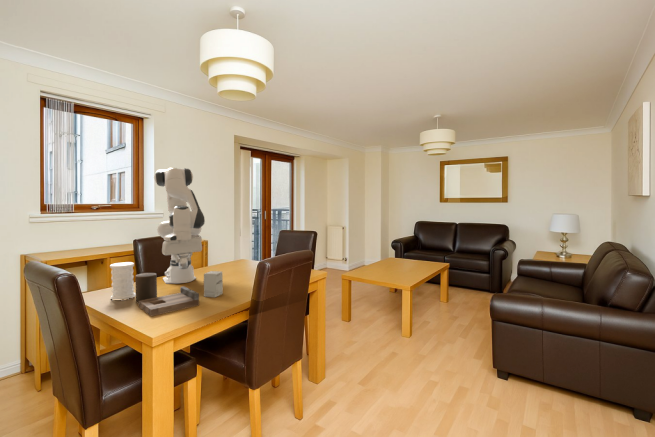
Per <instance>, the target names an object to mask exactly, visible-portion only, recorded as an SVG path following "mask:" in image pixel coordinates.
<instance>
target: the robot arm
mask: <svg viewBox="0 0 655 437" xmlns="http://www.w3.org/2000/svg"><path fill="white" fill-rule="evenodd" d="M153 176H154V177H153V178H154V181H155V183H156V185H157V186H159V187H162V188H163V187H165V191H166V200H167V201H166V202H167V209H168V213H169V215H168V220H164V221H161V222H160V223H159V224H158V226H157V229H156V230H157V233H158V236H159V237H161V238H163V240H164V241H163V242H162V248H161V253H162V255H164V256H171V257H170V258H171V259H170V263H169V267H168V268H167V270H166V271H164V277H162V280H163V281H164V283H165V284H184V283H191V282H192V281H194V280H196V279H197V277H196V276H195V273H194V272H195V271H194V270H195V269H194V266H193V265H192V259H191V258H192V256H193V253H199V252H200V253H201V252H202V250H203V245H202V239H203V238H202V236H201V235H200V234H201V232H202V227H203V226H204V225H205V222H206V221H205V215H204V213H203V211H202V209H201V207H200V204H199V202H198V200H197V197H196V195H195V193H194V191H193V190H191V189H190V188H189V186H190V185H191V184H192V183H193V179H194V175H193V172H192V170H191V169H189V168H185V167H184V168H180V167H179V168H178V167H169V168H167V169H157V170H156V171H155V172H154V175H153ZM187 204H189V206H188V205H187ZM183 253H189V255H188V268H187V269H179V262H180V261H179V260H180V259H179V256H177V254H183Z"/></svg>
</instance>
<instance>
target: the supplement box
mask: <svg viewBox="0 0 655 437" xmlns="http://www.w3.org/2000/svg"><path fill="white" fill-rule="evenodd" d="M223 284H224V283H223V271H219V270H218V271H217V270H211V271H208V272H205V273H204V274H203V297H205V298H218V297H219V296H221V295H223V294H224V293H223V290H224V289H223Z"/></svg>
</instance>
